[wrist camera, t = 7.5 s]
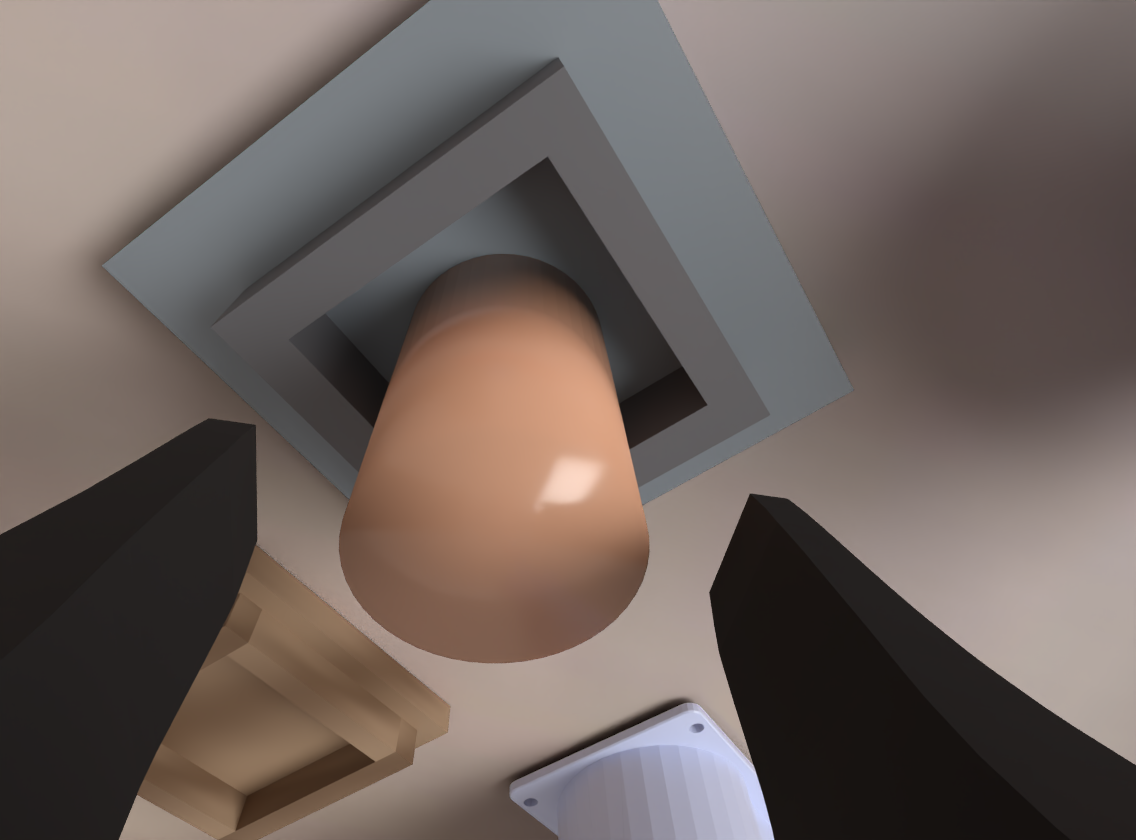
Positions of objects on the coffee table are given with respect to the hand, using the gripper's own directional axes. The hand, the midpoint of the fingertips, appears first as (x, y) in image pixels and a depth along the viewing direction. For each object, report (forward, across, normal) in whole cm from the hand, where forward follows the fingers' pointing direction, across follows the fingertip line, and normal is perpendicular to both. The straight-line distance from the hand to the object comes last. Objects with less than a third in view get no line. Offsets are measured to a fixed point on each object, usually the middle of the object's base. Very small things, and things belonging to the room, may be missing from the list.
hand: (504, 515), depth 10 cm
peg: (+6, 0, 0) cm, 7 cm away
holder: (+8, +6, +14) cm, 17 cm away
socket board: (+8, 0, 0) cm, 8 cm away
